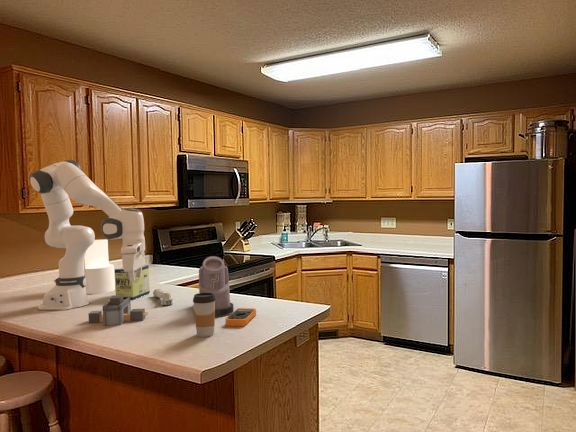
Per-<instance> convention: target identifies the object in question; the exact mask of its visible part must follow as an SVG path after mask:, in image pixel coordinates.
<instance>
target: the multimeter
mask: <svg viewBox="0 0 576 432" xmlns="http://www.w3.org/2000/svg"><path fill="white" fill-rule="evenodd" d="M255 316H257V308H254V307H237V308H236V309H235V310H234V312H233V313H232V314H231V315H229V316H226V317H225V325H226V326H227V327H230V328H231V327H232V328H236V327H237V328H241V327H245V326H247V324H249V322H250V321H251V320H252V319H253V318H255Z"/></svg>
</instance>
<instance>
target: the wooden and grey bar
mask: <svg viewBox="0 0 576 432" xmlns="http://www.w3.org/2000/svg"><path fill="white" fill-rule="evenodd" d="M147 315H149V312H148V311H146V308H131V311H130V314H124V322H129V321H130V322H142V321H144V320H145V319H146V317H147ZM88 323H89V324H96V323H97V324H99V323H103V310H92V311H89V313H88Z"/></svg>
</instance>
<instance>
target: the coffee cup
mask: <svg viewBox="0 0 576 432" xmlns="http://www.w3.org/2000/svg"><path fill="white" fill-rule="evenodd" d="M192 303H193V311H194V313H193V314H194V321H195V328H196V335H197V336H198V337H201V338H207V337H211V336H213V335H214V334H215V325H216V324H215V323H216V321H215V320H216V318H215V296H214V293H208V292H206V293H199V292H198V293H196V294H194V295H193V298H192Z"/></svg>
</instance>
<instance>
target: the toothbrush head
mask: <svg viewBox="0 0 576 432" xmlns="http://www.w3.org/2000/svg"><path fill="white" fill-rule="evenodd" d="M152 295H153V297H155V298H156V297H158V298H159V299H161V303H162V304H161V305H162V306H169V305H170V306H171V305H174V304H173V300H174V298H173V297H172V294H171V292H170V291H167V292H166V291H164V290H162V289H161V288H157V289H154V291H153V292H152Z"/></svg>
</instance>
